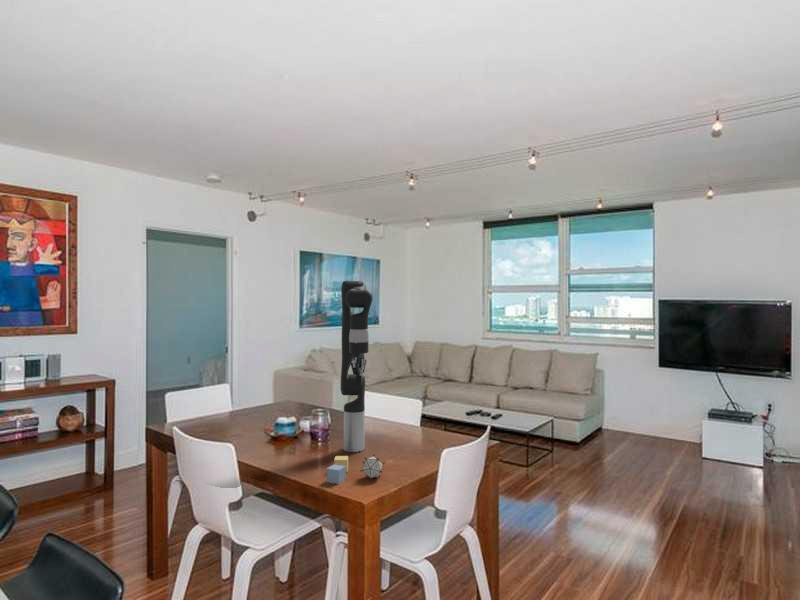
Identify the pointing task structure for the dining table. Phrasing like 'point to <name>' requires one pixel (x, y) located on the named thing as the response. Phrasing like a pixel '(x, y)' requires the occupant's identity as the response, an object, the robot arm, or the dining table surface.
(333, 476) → the slate block
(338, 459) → the ochre block
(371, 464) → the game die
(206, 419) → the dining table surface
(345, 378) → the robot arm
